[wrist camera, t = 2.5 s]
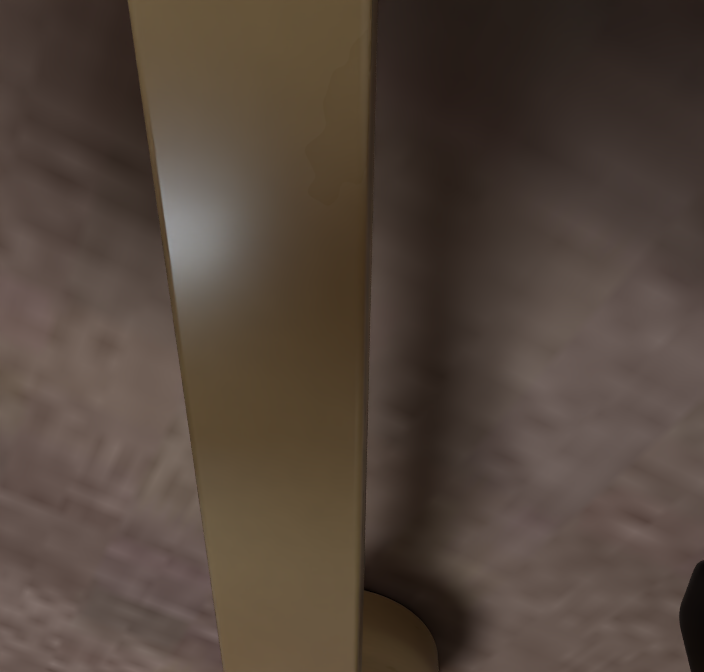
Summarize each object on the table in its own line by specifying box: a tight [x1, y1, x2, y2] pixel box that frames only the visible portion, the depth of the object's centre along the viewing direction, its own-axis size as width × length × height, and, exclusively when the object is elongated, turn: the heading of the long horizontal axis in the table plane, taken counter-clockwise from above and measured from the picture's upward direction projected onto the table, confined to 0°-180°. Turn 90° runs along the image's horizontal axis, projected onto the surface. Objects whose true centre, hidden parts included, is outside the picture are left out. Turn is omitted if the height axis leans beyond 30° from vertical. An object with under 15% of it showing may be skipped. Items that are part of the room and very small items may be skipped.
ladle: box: [128, 0, 439, 672], centre depth 11 cm, size 18×5×6 cm, turn 0°
